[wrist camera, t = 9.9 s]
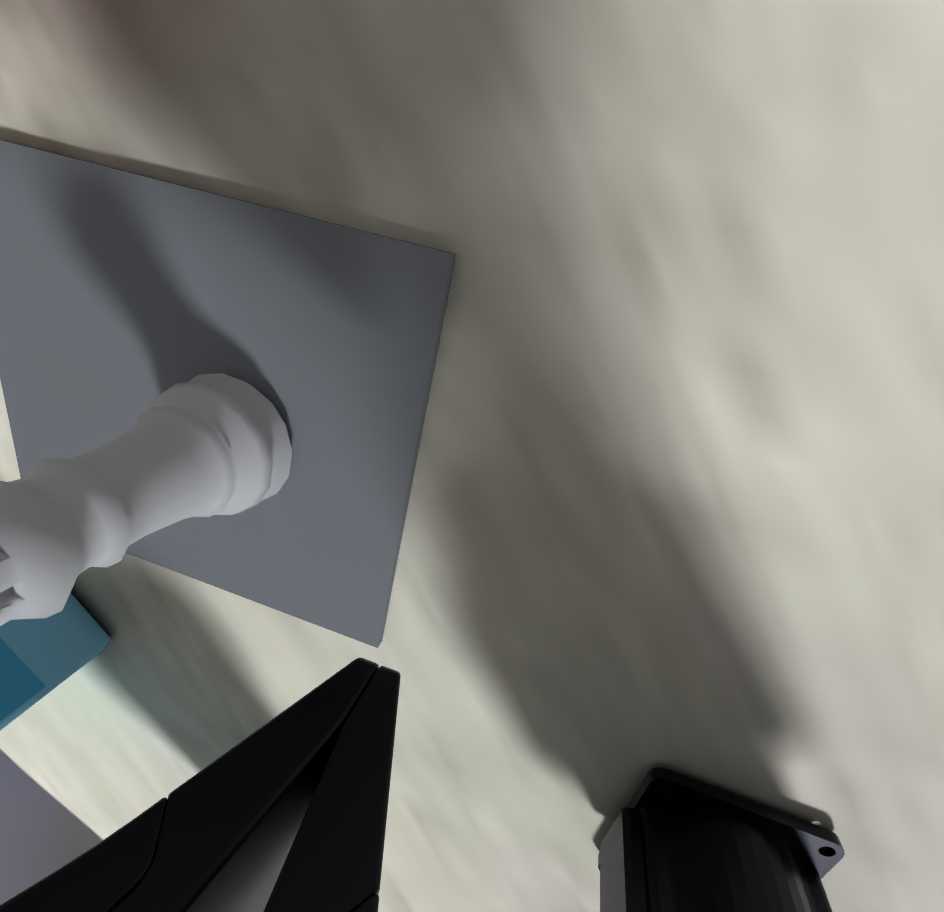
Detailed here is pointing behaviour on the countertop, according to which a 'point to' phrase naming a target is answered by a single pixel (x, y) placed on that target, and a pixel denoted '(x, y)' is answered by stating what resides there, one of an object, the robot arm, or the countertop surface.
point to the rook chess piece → (137, 488)
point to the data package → (44, 655)
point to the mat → (226, 364)
